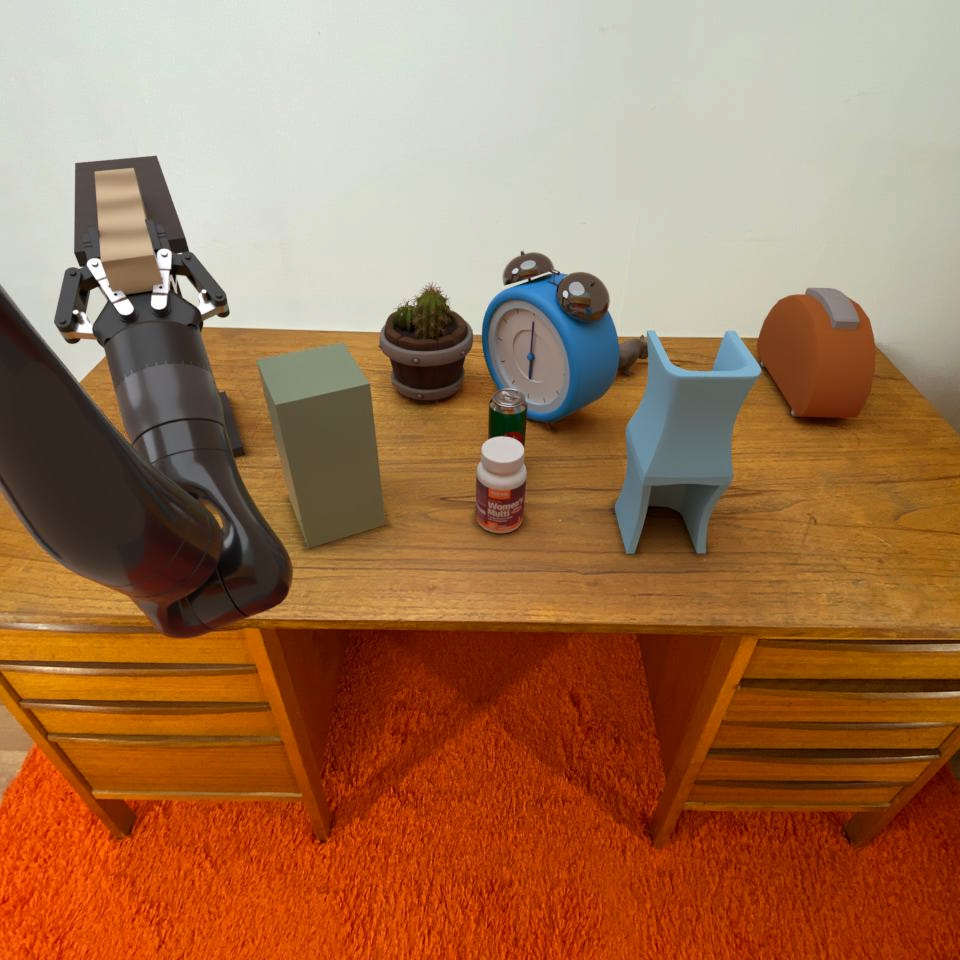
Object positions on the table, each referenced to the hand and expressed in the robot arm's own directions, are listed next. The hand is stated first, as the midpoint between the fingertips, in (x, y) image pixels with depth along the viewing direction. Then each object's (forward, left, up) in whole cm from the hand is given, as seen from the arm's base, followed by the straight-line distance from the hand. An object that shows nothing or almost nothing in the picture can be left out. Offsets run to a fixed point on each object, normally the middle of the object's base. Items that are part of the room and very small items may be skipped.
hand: (123, 229), depth 57 cm
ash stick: (-2, +6, -3) cm, 7 cm away
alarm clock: (+45, +23, -37) cm, 63 cm away
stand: (-7, +20, -37) cm, 43 cm away
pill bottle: (+35, -2, -37) cm, 51 cm away
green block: (+14, +1, -37) cm, 39 cm away
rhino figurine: (+61, +33, -37) cm, 79 cm away
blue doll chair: (+55, -5, -37) cm, 67 cm away
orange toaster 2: (+89, +25, -37) cm, 100 cm away
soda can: (+37, +8, -37) cm, 53 cm away
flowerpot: (+27, +30, -37) cm, 55 cm away
